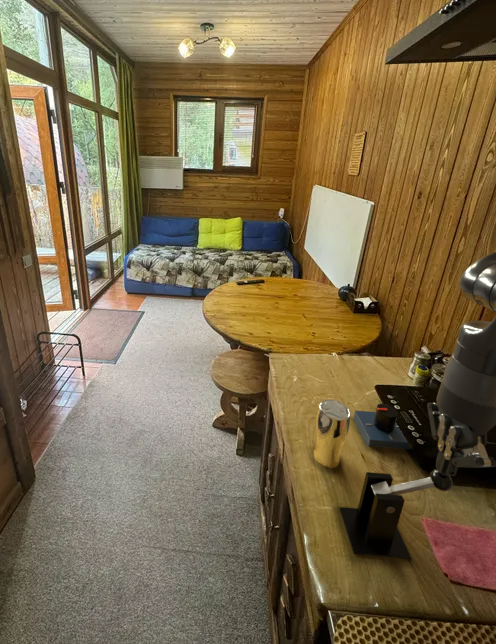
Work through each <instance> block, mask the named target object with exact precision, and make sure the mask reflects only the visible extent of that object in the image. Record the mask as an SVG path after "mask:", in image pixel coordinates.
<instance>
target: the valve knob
mask: <svg viewBox="0 0 496 644" xmlns="http://www.w3.org/2000/svg"><path fill="white" fill-rule="evenodd" d="M375 408H376V409H375V411H374V412H375V417H374V421H373V423H374V425H375V427H376V428H377V429H379V430H381V431H383V432H386V433H391V432H393V431H394V428H395V424H396V420H397V416H399V413H398V410H397V409H396V408H395V407H393V406H392V405H390V404H387V403H377V405H376V407H375Z"/></svg>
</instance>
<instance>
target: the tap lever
mask: <svg viewBox="0 0 496 644" xmlns="http://www.w3.org/2000/svg"><path fill="white" fill-rule="evenodd" d="M453 484H454V483H453V480H452V476H446V475H441V473H440V472H439V471H438V469H437V468H434V469H432V470H431V471H430V474H429V476H428V477H425V478H420V479H415V480H411V481H407V482H402V483H398V484H394V485H391V486H388V484H387V482H386V481H384V482H380V483H376V484H372V485H371V487H372V490H373V493H374V495H375V494H376V493H379V494H391V495H404V494H409V493H413V492H419V491H422V490H426V489H431V488H436V489H437V490H439V491H441V492H449V491H450V490H451V489H452V488H453Z"/></svg>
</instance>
